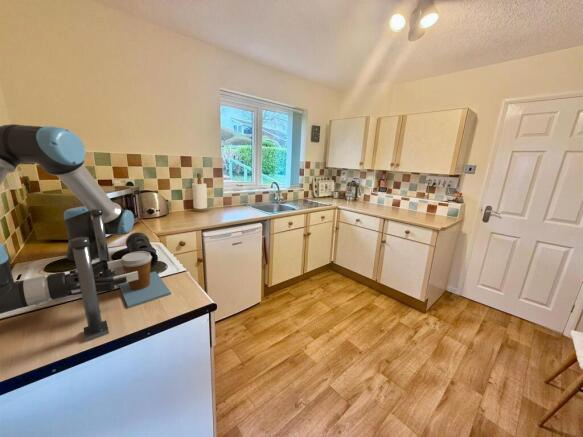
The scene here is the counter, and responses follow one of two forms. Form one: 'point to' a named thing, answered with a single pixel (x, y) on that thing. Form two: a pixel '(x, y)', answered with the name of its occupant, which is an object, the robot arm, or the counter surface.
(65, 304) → the counter surface
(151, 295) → the mat
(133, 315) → the counter surface
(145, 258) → the disposable coffee cup
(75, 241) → the post
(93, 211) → the post
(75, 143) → the robot arm
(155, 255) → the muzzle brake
